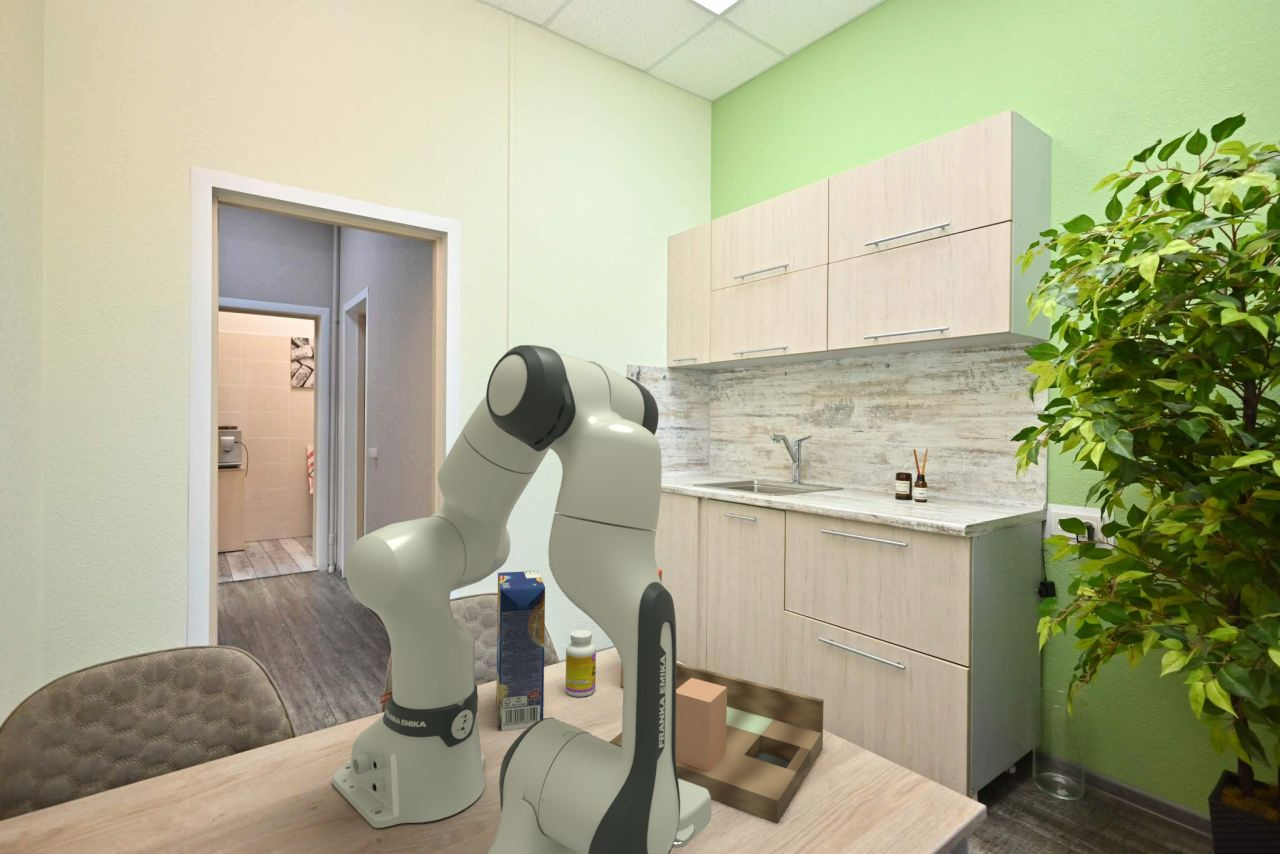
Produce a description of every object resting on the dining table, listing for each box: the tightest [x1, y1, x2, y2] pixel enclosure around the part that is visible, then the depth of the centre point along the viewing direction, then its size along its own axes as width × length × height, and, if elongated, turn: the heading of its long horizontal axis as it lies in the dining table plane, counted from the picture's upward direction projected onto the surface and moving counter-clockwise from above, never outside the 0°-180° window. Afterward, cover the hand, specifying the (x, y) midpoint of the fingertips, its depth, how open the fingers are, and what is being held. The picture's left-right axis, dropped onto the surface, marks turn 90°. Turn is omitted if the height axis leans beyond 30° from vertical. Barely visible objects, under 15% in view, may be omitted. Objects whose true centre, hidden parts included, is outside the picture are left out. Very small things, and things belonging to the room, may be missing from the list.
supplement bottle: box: [564, 629, 597, 698], centre depth 119 cm, size 6×6×11 cm
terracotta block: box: [676, 678, 727, 772], centre depth 92 cm, size 6×6×10 cm
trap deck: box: [609, 662, 825, 824], centre depth 98 cm, size 27×22×8 cm
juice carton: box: [495, 570, 546, 732], centre depth 110 cm, size 12×8×24 cm, turn 15°
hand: (659, 760), depth 81 cm, fingers closed
